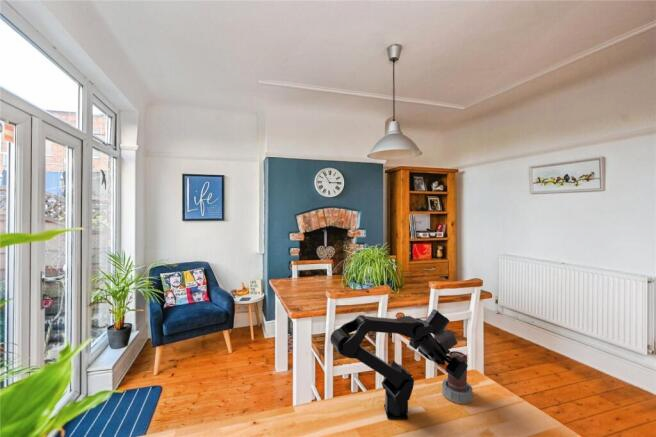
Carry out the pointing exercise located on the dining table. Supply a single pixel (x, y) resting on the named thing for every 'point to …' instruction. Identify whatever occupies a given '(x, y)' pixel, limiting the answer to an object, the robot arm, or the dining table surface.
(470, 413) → the dining table surface
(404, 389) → the robot arm
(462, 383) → the can
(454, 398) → the segmented gray ring
